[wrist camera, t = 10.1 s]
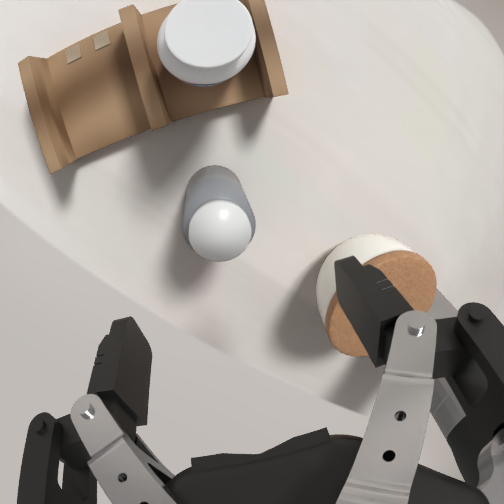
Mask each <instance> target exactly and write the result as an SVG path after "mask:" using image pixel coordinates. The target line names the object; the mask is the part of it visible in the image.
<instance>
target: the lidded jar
mask: <svg viewBox="0 0 504 504" xmlns="http://www.w3.org/2000/svg"><path fill="white" fill-rule="evenodd" d="M350 256H355V257H356V258H357V260H358V261H359V262H360V263H361V264H362V266H365V265H368V264H370V265H372V266H374V267H376V268H378V269H380V270H381V271H382V272H383V273H384V275H385V276H386V277H387V279H388V280H390V282H391V283H392V284H393V286H395V287H396V289H397V290H398V291H399V292H400V293H401V294H402V296H403V297H404V298H405V299H406V300H407V302H408V303H409V304H410V305H411V306H412V308H413V309H414V310H418V311H423V312H426V313H428V312H429V310H430V308H431V306H432V303H433V301H434V297H435V294H436V276H435V272H434V270H433V268H432V266H431V265H430V264H429V263H428V262H427V261H426V260H425V259H424V258H423V257H421V256H420V255H418V254H417V253H415V252H414V251H413V250H412V249H410V248H409V247H408V246H406V245H405V244H403V243H401V242H400V241H398V240H396V239H394V238H391V237H388V236H386V235H380V234H363V235H358V236H355V237H352V238H350V239H348V240H346V241H344V242H342V243H341V244H340V245H338V246H337V247H336V248H335V249H334V250H333V251H332V252H331V253H330V254H329V255H328V256H327V258H326V259H325V261H324V263H323V265H322V267H321V269H320V272H319V275H318V278H317V284H316V299H317V305H318V309H319V313H320V316H321V318H322V321H323V323H324V325H325V328H326V332H327V334H328V337H329V339H330V341H331V343H332V345H333V346H334V347H335V348H336V349H337V350H338V351H340V352H341V353H344V354H346V355H350V356H355V357H363V356H369V355H368V353H367V351H366V349H365V348H364V346H363V344H362V342H361V341H360V339H359V337H358V336H357V334H356V332H355V330H354V329H353V327H352V325H351V324H350V322H349V320H348V318H347V317H346V315H345V313H344V312H343V310H342V308H341V306H340V304H339V301H338V298H337V293H336V281H335V269H334V262H335V261H336V260H340V259H343V258H346V257H350Z"/></svg>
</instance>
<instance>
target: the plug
mask: <svg viewBox="0 0 504 504" xmlns="http://www.w3.org/2000/svg"><path fill="white" fill-rule="evenodd" d="M255 226H256V225H255V217H254V214H253V211H252V209H251V206H250V204H249V202H248V200H247V197H246V195H245V193H244V191H243V188H242V186H241V184H240V181H239V179H238V178H237V176H236V175H235V174H234V173H233V172H232V171H231V170H229V169H228V168H225V167H222V166H217V165H213V166H207V167H204V168H202V169H200V170H198V171H197V172H196V173H195V174H194V175H193V176H192V177H191V179H190V181H189V183H188V186H187V193H186V200H185V208H184V215H183V224H182V229H183V235H184V238H185V240H186V242H187V243H188V245H189V246H190V247H191V248H192V249H193V250H194V251H195V252H196V253H197V254H199V255H200V256H201V257H203V258H205V259H207V260H211V261H216V262H221V261H228V260H231V259H233V258H235V257H237V256H239V255H240V254H241V253H242V252H243V251H244V250H245V249H246V248H247V246H248V244H249V243H250V242H251V240H252V238H253V235H254V232H255Z"/></svg>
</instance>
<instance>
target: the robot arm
mask: <svg viewBox="0 0 504 504" xmlns="http://www.w3.org/2000/svg"><path fill="white" fill-rule="evenodd" d="M334 269H335V281H336V293H337V298H338V301H339V304H340V306H341V308H342V310H343V312H344V313H345V315H346V317H347V318H348V320H349V322H350V324H351V325H352V327H353V329H354V330H355V332H356V334H357V336H358V337H359V339H360V341H361V342H362V344H363V346H364V348H365V349H366V351H367V353H368V355H369V356H370V358H371V360H372V362H373V364H374V365H375V367H379V366H381V365H384V364H385V365H386V369H385V372H384V373H383V376H382V380H381V383H380V387H379V390H378V394H377V397H376V401H375V404H374V407H373V410H372V414H371V417H370V420H369V423H368V426H367V429H366V432H365V435H364V438H361V437H357V436H351V435H329V433H328V430H327V428H323V429H320V430H317V431H314V432H310V433H307V434H304V435H301V436H297V437H293V438H291V439H289V440H287V441H286V442H283V443H282V444H280V445H278V446H276V447H274V448H272V449H269V450H267V451H265V452H263V453H261V454H227V453H226V454H225V453H222V454H216V455H209V456H203V457H196V458H191V464H192V467H190V468H187V469H185V470H183V471H182V472H180V473H179V474H177V475H176V476H175V475H174V474H172V473H171V472H170V471H169V470H168V469H167V468H166V467H165V466H164V465H163V464H162V463H161V462H160V461H159V459H157V457H156V456H155V455H154V454H153V452H152V451H151V450H150V449H149V448H148V446H147V445H146V444H145V443H144V442H143V440H142V439H141V438H140V437H139V435H138V434H136V426H142V425H147V414H148V399H149V386H150V374H151V363H152V352H151V348H150V345H149V343H148V341H147V340H146V338H145V336H144V335H143V333H142V332H141V330H140V328H139V327H138V325H137V323H136V322H135V320H134V319H133V318H132V317H126V318H122V319H118V320H114V321H113V322H112V326H111V329H110V333H109V335H106V336H105V337H104V339H103V340H102V342H101V343H100V345H99V347H98V351H97V357H96V358H95V362H94V364H95V366H93V370H92V374H91V379H90V382H89V387H88V392H87V395H84V396H82V397H80V398H79V399H78V400H77V401H76V402H75V403H74V405H73V407H72V409H71V414H69V415H66V416H63V417H61V418H58V419H55V418H54V417H53V416H51V415H50V414H49V413H46V412H43V413H40V414H38V415H37V416H35V417H34V418H33V420H32V421H31V423H30V425H29V429H28V433H27V438H26V443H25V448H24V454H23V459H22V465H21V473H20V479H19V487H18V497H17V504H97V481H98V482H99V484H100V486H101V487H102V489H103V490H104V492H105V494H106V495H107V496H108V498H109V499H110V501H111V503H112V504H504V326H503V325H502V323H501V322H500V321H499V320H498V319H497V318H496V316H495V315H494V314H493V313H492V312H491V310H490V309H489V308H487V307H486V306H484V305H483V304H480V303H474V302H473V303H467V304H465V305H463V306H462V307H461V308H460V309H459V311H457V309H456V308H455V307H454V306H453V305H452V304H451V303H450V302H449V301H448V300H447V299H446V298H445V297H444V296H443V294H442V293H441V292H440V291H439V290H438V289H437V288H436V294H435V297H434V301H433V303H432V306H431V308H430V310H429V312H428V313H426V312H423V311H418V310H414V309H413V308H412V306H411V305H410V304H409V303H408V302H407V300H406V299H405V298H404V297H403V296H402V294H401V293H400V292H399V291H398V290H397V289H396V287H395V286H393V284H392V283H391V282H390V280H388V279H387V277H386V276H385V275H384V273H383V272H382V271H381V270H380V269H378V268H376V267H374V266H372V265H370V264H368V265H365V266H362V264H361V263H360V262H359V261H358V260H357V258H356V257H355V256H350V257H346V258H343V259H340V260H336V261H335V262H334ZM430 412H431V414H432V416H433V418H434V419H435V421H436V423H437V424H438V426H439V428H440V430H441V431H442V433H443V435H444V437H445V438H446V439H447V442H448V444H449V446H450V447H451V449H452V452H453V455H454V457H455V460H456V463H457V465H458V468H459V470H460V472H461V474H462V476H463V478H464V480H465V482H463V481H460V480H457V479H455V478H452V477H450V476H447V475H445V474H442V473H440V472H437V471H435V470H432V469H430V468H427V467H425V466H423V465H420V464H418V461H419V457H420V454H421V450H422V446H423V441H424V437H425V432H426V428H427V423H428V418H429V413H430ZM59 460H60V461H61V462H63V463H64V471H63V483H62V489H61V488H60V486H59V484H58V467H59Z"/></svg>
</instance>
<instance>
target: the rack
mask: <svg viewBox="0 0 504 504" xmlns="http://www.w3.org/2000/svg"><path fill="white" fill-rule="evenodd" d="M238 1H240V2H241V3H242V4H243V5H244V6H245V7H246V8H247V10H248V11H249V13H250V15H251V18H252V22H253V26H254V29H255V35H256V42H255V48H254V51H253V54H252V56H251V58H250V60H249V62H248V63H247V64H246V65H245V67H244V68H243V69H242V70H241V71H240V72H239V73H237V74H236V75H235V76H233V77H231V78H230V79H228V80H226V81H224V82H223V83H221V84H218V85H215V86H212V87H194V86H190V85H188V84H185V83H183V82H181V81H180V80H178V79H177V78H176V77H175V76H174V75H172V74H171V73H170V72H169V71H168V70H167V69H166V68H165V66H164V65H163V63H162V62H161V60H160V57H159V54H158V50H157V37H158V32H159V29H160V27H161V25H162V23H163V21H164V20H165V18H166V17H167V16H168V15H169V13H170V12H171V10H172V9H173V8H174V7H175V6H176V5H177V4H174V5H171V6H167V7H164V8H161V9H158V10H155V11H152V12H149V13H146V14H143V15H141V14H140V13H139V11H138V10H137V9H136V7H135V6H134V5H130V6H127V7H125V8H122V9H120V10H119V14H120V19H121V23H119V24H116V25H114V26H112V27H109V28H107V29H105V30H102V31H100V32H98V33H96V34H93V35H91V36H89V37H87V38H85V39H83V40H81V41H79V42H77V43H75V44H73V45H71V46H69V47H67V48H65V49H63V50H61V51H60V52H58V53H56V54H54V55H52V56H51V57H49V58H47V59H45V58H38V57H31V56H28V57H27V58H25V59H23V60H22V61H20V62H19V63H18V66H19V71H20V75H21V79H22V84H23V88H24V92H25V96H26V100H27V103H28V107H29V110H30V114H31V117H32V121H33V124H34V127H35V130H36V134H37V137H38V140H39V143H40V146H41V149H42V151H43V154H44V157H45V160H46V163H47V165H48V168H49V171H50V173H53V172H55V171H57V170H59V169H61V168H63V167H65V166H66V165H68V164H69V163H71V162H73V161H74V160H76V159H78V158H80V157H82V156H85V155H87V154H89V153H91V152H94V151H96V150H98V149H101V148H103V147H105V146H108V145H110V144H113V143H115V142H118V141H120V140H123V139H125V138H128V137H130V136H133V135H136V134H138V133H141V132H144V131H147V130H149V129H152V131H153V130H156V129H158V128H161V127H164V126H167V125H168V124H169V123H171V122H173V121H176V120H179V119H182V118H185V117H189V116H192V115H195V114H199V113H202V112H206V111H209V110H213V109H217V108H220V107H224V106H228V105H232V104H236V103H240V102H244V101H248V100H253V99H257V98H262V97H277V96H282V95H287V94H288V89H287V85H286V81H285V77H284V72H283V68H282V64H281V60H280V56H279V52H278V48H277V45H276V41H275V37H274V33H273V29H272V26H271V22H270V19H269V15H268V12H267V8H266V5H265V1H264V0H238Z"/></svg>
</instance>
